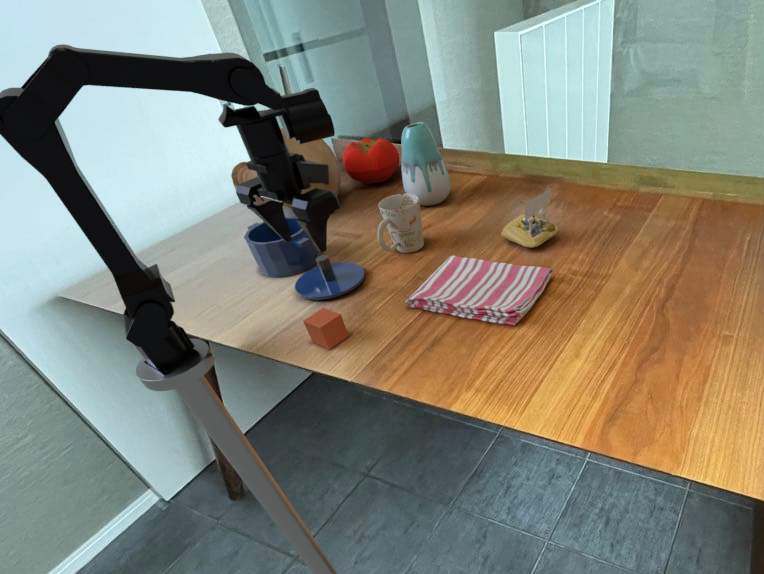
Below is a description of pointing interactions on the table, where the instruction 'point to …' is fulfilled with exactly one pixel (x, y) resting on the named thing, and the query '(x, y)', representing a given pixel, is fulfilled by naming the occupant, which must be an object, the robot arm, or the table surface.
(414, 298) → the dish towel
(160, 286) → the robot arm
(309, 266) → the pot
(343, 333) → the block
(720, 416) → the table surface
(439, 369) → the table surface
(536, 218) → the tan figurine base
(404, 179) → the vase
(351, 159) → the tomato
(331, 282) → the pot lid
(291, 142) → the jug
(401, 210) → the mug
